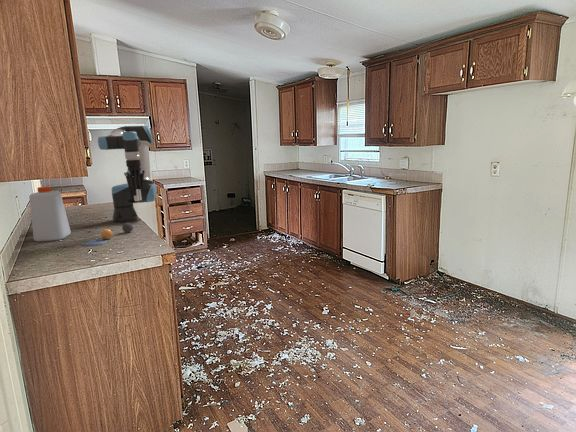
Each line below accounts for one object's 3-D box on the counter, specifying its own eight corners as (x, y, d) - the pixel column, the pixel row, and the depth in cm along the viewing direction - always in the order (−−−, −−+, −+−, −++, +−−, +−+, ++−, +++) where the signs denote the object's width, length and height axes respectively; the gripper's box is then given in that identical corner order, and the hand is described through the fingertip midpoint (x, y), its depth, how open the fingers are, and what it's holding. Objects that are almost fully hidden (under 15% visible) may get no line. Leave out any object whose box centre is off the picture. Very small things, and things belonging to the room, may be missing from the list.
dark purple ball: (121, 232, 204) (120, 222, 202) (132, 230, 207) (130, 221, 206) (124, 234, 199) (122, 224, 198) (134, 232, 202) (133, 222, 201)
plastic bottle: (31, 242, 188) (20, 189, 182) (44, 235, 203) (35, 186, 197) (62, 240, 191) (53, 188, 185) (73, 233, 206) (65, 184, 200)
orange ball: (100, 238, 191) (99, 228, 190) (111, 236, 194) (110, 227, 193) (102, 241, 187) (101, 230, 186) (114, 238, 190) (112, 228, 189)
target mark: (80, 242, 185) (79, 242, 185) (105, 238, 192) (105, 237, 192) (83, 247, 176) (83, 247, 175) (110, 242, 183) (110, 242, 182)
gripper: (127, 160, 196) (133, 203, 201) (147, 158, 209) (152, 198, 214) (117, 160, 199) (123, 202, 204) (137, 158, 211) (142, 198, 216)
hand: (138, 200), depth 209 cm, fingers closed
